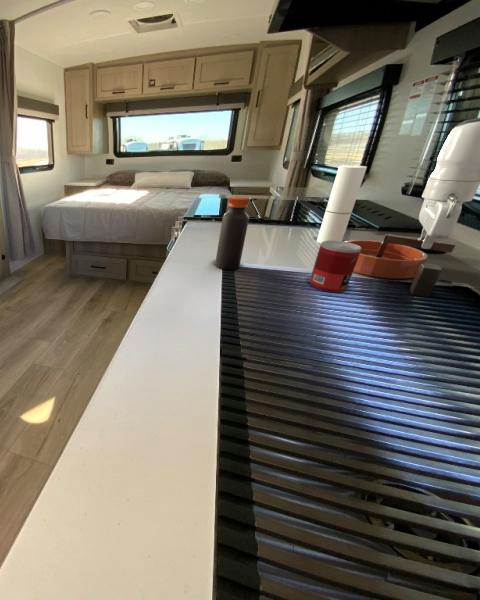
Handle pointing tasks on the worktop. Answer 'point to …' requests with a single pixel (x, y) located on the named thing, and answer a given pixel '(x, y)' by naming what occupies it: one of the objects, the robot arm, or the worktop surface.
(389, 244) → the bowl
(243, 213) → the bottle
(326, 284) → the canned food
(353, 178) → the cylindrical container
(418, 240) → the brown bent bar
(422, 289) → the dark brown upright post
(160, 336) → the worktop surface
